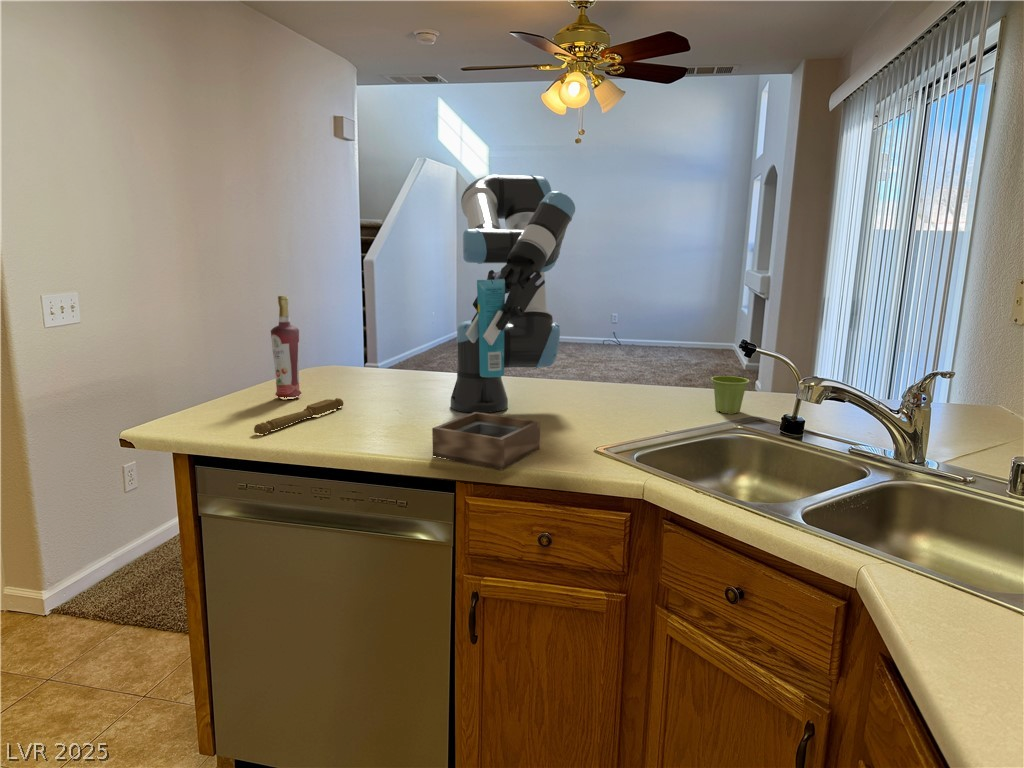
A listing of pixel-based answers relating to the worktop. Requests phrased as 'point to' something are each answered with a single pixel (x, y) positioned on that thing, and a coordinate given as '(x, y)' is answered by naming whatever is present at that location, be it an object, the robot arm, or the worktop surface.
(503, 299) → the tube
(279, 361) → the liquor
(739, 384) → the plant pot
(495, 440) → the crate
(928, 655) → the worktop surface
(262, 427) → the tap handle
